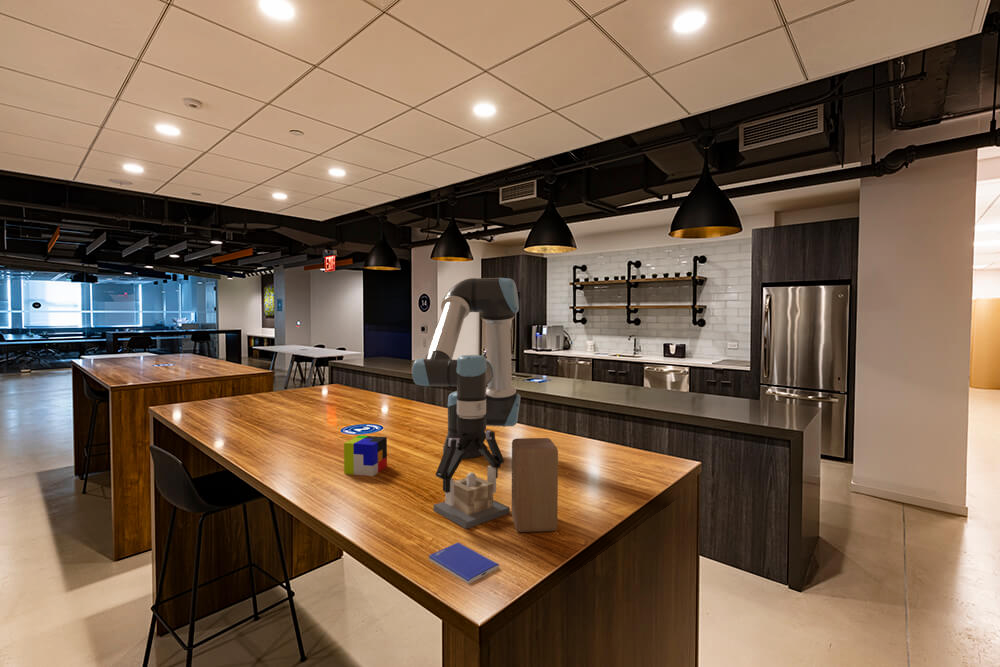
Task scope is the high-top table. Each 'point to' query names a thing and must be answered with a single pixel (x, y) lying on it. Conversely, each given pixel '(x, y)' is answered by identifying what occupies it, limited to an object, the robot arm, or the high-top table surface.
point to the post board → (474, 518)
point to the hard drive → (463, 562)
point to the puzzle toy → (365, 455)
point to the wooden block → (534, 484)
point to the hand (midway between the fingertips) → (471, 497)
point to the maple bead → (473, 496)
